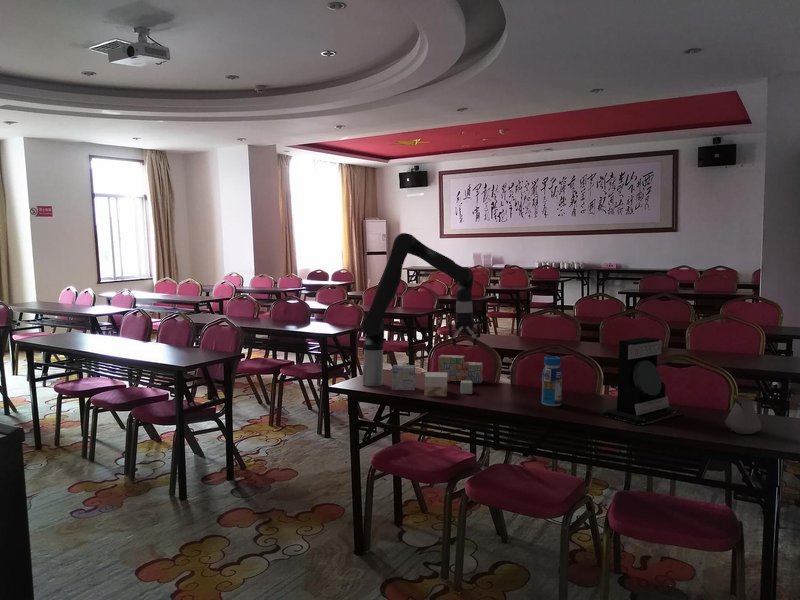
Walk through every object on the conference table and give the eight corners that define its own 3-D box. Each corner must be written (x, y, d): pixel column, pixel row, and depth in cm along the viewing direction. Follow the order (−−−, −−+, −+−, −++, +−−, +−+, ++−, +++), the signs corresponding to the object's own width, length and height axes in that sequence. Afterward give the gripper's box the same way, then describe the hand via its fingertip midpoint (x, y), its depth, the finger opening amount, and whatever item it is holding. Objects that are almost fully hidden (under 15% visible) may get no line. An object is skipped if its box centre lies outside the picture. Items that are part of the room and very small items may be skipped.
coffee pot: (728, 425, 226) (730, 385, 225) (763, 431, 218) (766, 390, 217) (714, 438, 210) (716, 396, 208) (752, 445, 202) (754, 402, 201)
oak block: (424, 396, 268) (424, 386, 268) (424, 391, 278) (424, 381, 278) (446, 396, 268) (446, 387, 267) (446, 391, 278) (446, 382, 277)
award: (641, 427, 223) (644, 347, 220) (598, 415, 238) (600, 340, 236) (685, 414, 241) (688, 340, 238) (642, 404, 256) (645, 334, 253)
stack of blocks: (482, 381, 299) (483, 356, 298) (480, 383, 293) (481, 358, 292) (440, 378, 305) (440, 354, 304) (437, 380, 299) (438, 356, 298)
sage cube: (461, 393, 273) (461, 382, 272) (460, 391, 278) (460, 380, 277) (472, 393, 272) (472, 383, 272) (471, 391, 277) (471, 380, 277)
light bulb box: (415, 387, 284) (415, 364, 283) (414, 390, 278) (414, 367, 277) (393, 386, 286) (393, 364, 285) (391, 390, 279) (391, 367, 278)
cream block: (424, 386, 268) (424, 376, 268) (425, 381, 278) (425, 372, 277) (447, 387, 267) (447, 377, 267) (447, 382, 277) (447, 372, 277)
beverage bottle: (538, 401, 259) (539, 355, 257) (557, 401, 260) (559, 355, 258) (544, 406, 251) (545, 359, 249) (564, 406, 251) (565, 359, 250)
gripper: (448, 312, 270) (448, 348, 271) (480, 311, 268) (480, 347, 270) (448, 310, 277) (449, 345, 279) (479, 310, 276) (480, 345, 277)
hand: (464, 346), depth 274 cm, fingers open, 8 cm apart
